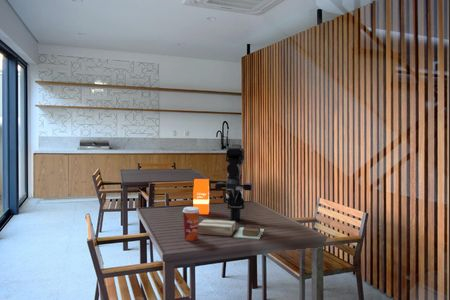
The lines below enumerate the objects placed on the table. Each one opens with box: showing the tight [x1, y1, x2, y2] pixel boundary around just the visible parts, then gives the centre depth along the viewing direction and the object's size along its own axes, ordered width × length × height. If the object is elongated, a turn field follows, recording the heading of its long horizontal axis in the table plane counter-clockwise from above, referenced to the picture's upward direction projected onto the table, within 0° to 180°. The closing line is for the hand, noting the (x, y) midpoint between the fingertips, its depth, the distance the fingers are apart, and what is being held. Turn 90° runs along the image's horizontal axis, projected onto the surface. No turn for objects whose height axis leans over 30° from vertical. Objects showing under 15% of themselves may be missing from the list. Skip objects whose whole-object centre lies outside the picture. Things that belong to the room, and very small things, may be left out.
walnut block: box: [243, 224, 261, 236], centre depth 173 cm, size 9×7×2 cm
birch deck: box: [198, 218, 237, 237], centre depth 178 cm, size 12×16×4 cm
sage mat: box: [233, 227, 265, 240], centre depth 174 cm, size 16×12×1 cm
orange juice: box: [192, 178, 210, 215], centre depth 216 cm, size 8×9×20 cm
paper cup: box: [182, 206, 200, 242], centre depth 165 cm, size 8×8×14 cm
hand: (233, 203), depth 186 cm, fingers closed
